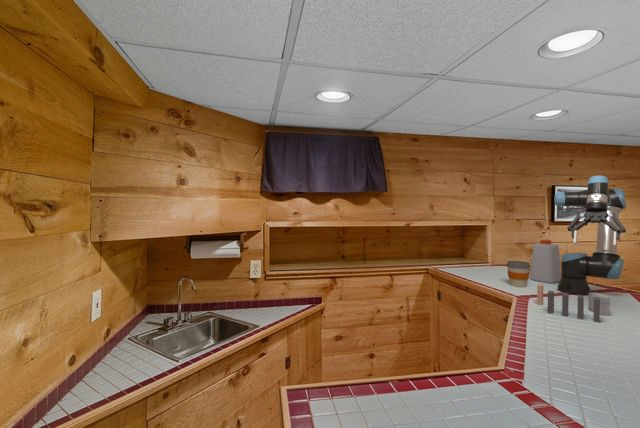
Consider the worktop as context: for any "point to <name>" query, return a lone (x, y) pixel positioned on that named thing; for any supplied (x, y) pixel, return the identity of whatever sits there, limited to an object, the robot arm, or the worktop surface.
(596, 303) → the domino
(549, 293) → the domino
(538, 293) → the terracotta domino
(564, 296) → the domino
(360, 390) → the worktop surface
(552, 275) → the plastic bottle
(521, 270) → the reusable coffee cup
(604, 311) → the medicine box
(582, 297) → the domino
